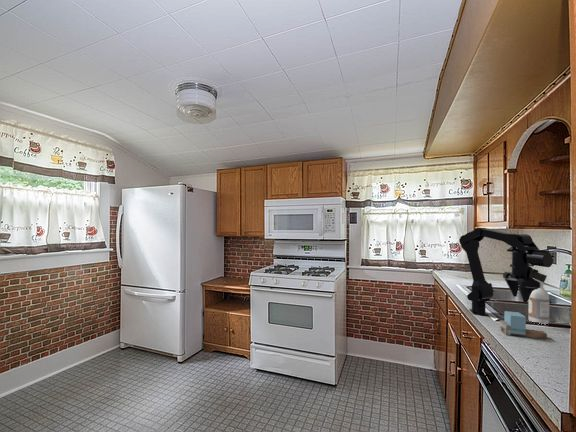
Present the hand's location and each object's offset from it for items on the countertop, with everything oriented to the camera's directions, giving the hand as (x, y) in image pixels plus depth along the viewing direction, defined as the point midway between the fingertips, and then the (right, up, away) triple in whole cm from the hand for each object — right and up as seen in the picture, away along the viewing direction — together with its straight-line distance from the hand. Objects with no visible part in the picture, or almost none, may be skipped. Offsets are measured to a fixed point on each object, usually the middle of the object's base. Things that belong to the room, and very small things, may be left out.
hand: (519, 299), depth 118 cm
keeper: (-7, -12, -6) cm, 16 cm away
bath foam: (+14, -13, +7) cm, 20 cm away
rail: (-5, -12, -7) cm, 15 cm away
